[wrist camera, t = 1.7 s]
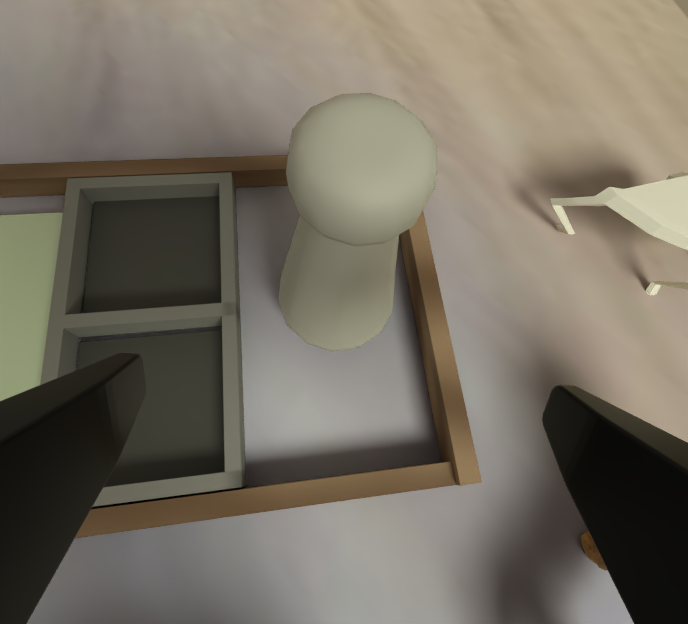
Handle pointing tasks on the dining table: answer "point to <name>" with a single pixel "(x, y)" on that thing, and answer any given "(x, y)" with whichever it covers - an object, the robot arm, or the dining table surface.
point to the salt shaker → (351, 214)
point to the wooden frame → (451, 471)
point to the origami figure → (643, 212)
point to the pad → (25, 296)
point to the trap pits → (157, 322)
